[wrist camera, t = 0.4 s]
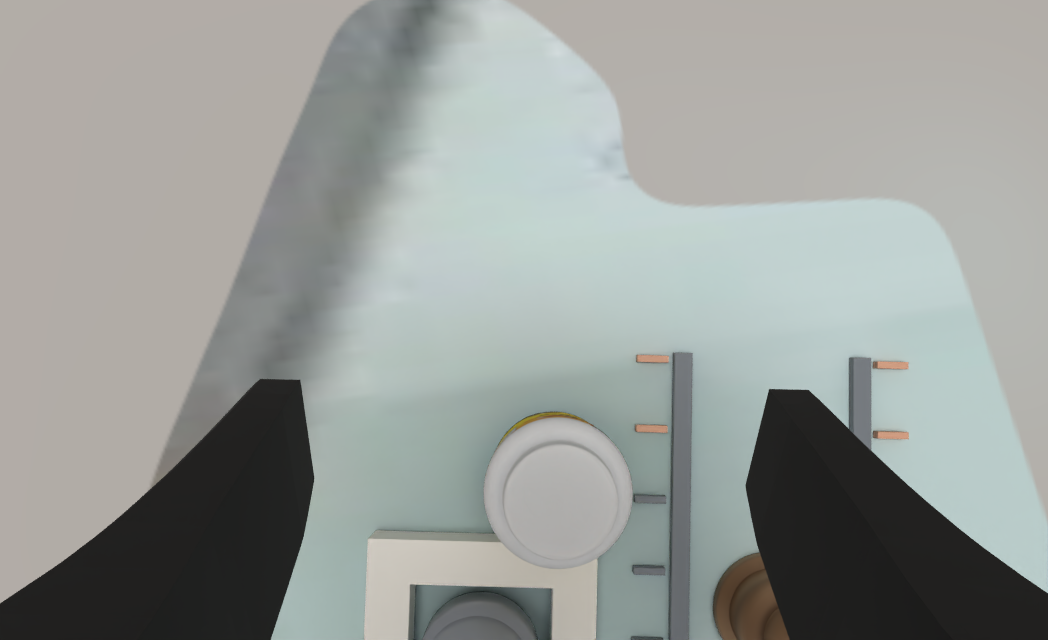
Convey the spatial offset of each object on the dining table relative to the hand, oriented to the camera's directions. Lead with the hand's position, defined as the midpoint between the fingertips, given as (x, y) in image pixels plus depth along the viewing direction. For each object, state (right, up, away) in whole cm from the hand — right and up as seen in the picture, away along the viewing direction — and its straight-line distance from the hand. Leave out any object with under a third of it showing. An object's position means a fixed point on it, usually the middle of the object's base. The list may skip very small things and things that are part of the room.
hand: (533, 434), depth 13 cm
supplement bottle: (+1, -5, +26) cm, 26 cm away
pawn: (+11, -11, +25) cm, 30 cm away
